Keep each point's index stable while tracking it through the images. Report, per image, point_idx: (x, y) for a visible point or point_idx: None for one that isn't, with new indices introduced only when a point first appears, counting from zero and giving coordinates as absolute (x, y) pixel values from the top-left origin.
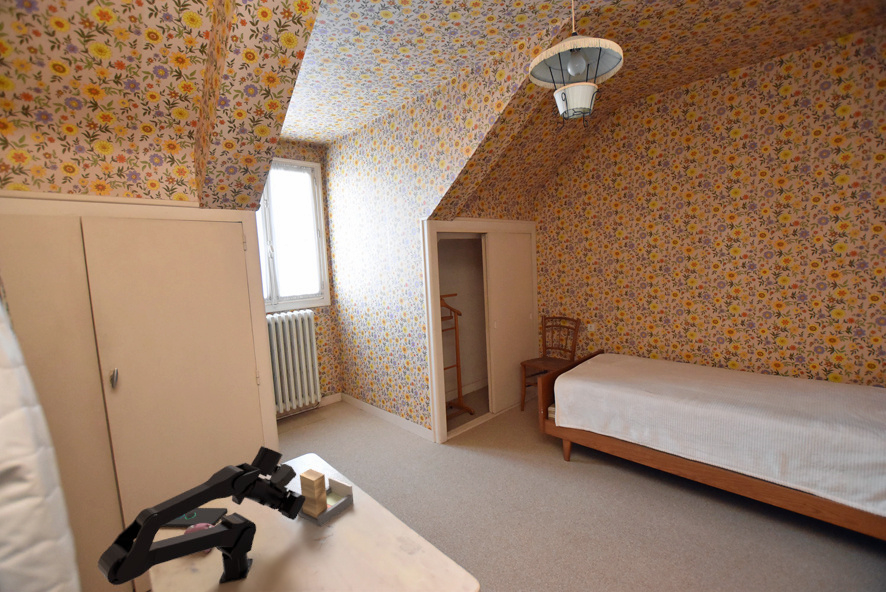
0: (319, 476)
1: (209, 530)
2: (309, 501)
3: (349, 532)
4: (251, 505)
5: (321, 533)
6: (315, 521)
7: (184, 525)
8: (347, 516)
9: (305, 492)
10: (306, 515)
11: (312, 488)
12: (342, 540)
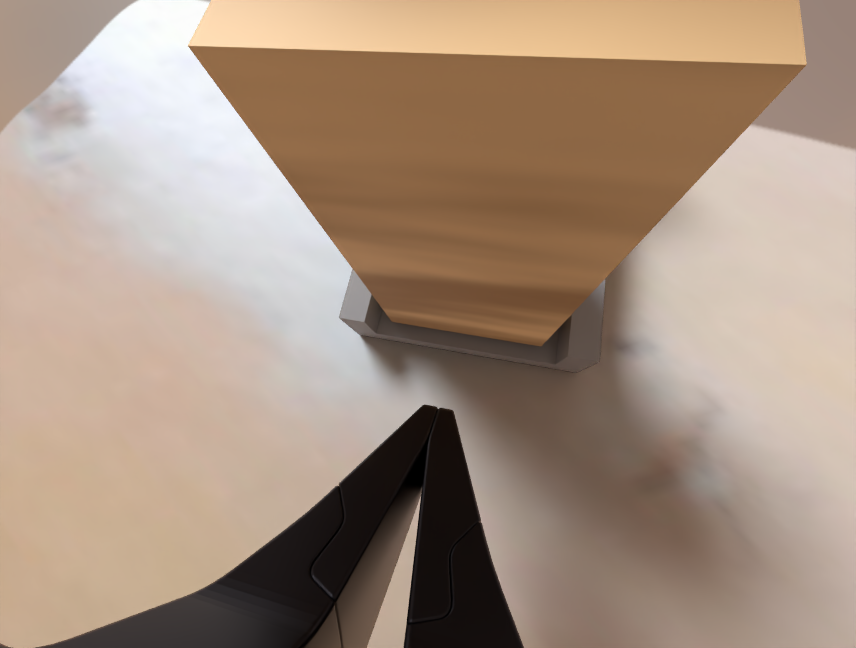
0: None
1: None
2: (470, 298)
3: (806, 351)
4: (35, 358)
5: (633, 420)
6: (533, 360)
7: None
8: (662, 241)
9: (410, 256)
10: (429, 334)
11: (592, 220)
12: (833, 431)
